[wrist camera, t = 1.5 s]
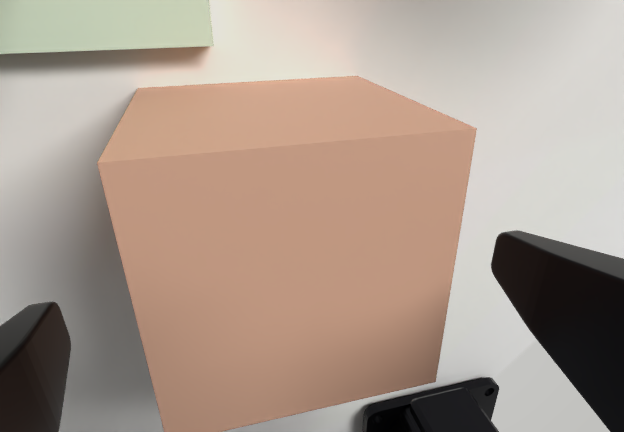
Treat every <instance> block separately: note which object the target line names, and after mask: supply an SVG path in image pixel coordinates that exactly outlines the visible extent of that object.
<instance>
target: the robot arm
mask: <svg viewBox="0 0 624 432" xmlns="http://www.w3.org/2000/svg"><path fill="white" fill-rule="evenodd" d="M491 269H492V272H493V275H494V277H495V278H496V280H497V281H498V283H499V284H500V286H501V287H502V289H503V290H504V292H505V293H506V295H507V297H508V298H509V300H510V301H511V303H512V304H513V306H514V307H515V309H516V310H517V312H518V313H519V315H520V317H521V318H522V320H523V321H524V323H525V324H526V325H527V327H528V328H529V330H530V331H531V332H532V334H533V335H534V336H535V338H536V339H537V340H538V341H539V343H540V344H541V345H542V346H543V348H544V349H545V350H546V351H547V353H548V354H549V355H550V356H551V358H552V359H553V360H554V362H555V363H556V364H557V365H558V366H559V368H560V369H561V370H562V372H563V373H564V374H565V375H566V377H567V378H568V379H569V380H570V382H571V383H572V384H573V385H574V387H575V388H576V389H577V390H578V392H579V393H580V394H581V395H582V397H583V398H584V399H585V400H586V402H587V403H588V404H589V405H590V407H591V408H592V409H593V410H594V412H595V413H596V414H597V415H598V417H599V418H600V419H601V420H602V422H603V423H604V424H605V425H606V427H607V428H608V429H609V430H610V432H624V259H622V258H619V257H615V256H611V255H608V254H604V253H600V252H596V251H593V250H589V249H585V248H581V247H578V246H574V245H570V244H567V243H563V242H559V241H555V240H552V239H548V238H544V237H541V236H537V235H533V234H529V233H526V232H522V231H509V232H503V233H501V234H499V235H498V237H497V239H496V243H495V248H494V253H493V258H492V263H491ZM70 351H71V341H70V336H69V333H68V330H67V327H66V324H65V321H64V319H63V316H62V313H61V310H60V307H59V306H58V304H57V303H55V302H45V303H38V304H32V305H29V306H27V307H26V308H24V309H23V310H22V311H20V312H19V313H18V314H16V315H15V316H13V317H12V318H11V319H9V320H8V321H7V322H5V323H4V324H2V325H1V326H0V432H58V431H59V426H60V420H61V414H62V407H63V400H64V393H65V386H66V379H67V372H68V365H69V358H70ZM498 391H499V386H498V385H497V384H496V382H495V381H494V380H493V379H492V378H490V377H487V378H482V379H478V380H474V381H470V382H465V383H461V384H457V385H453V386H448V387H444V388H440V389H436V390H432V391H427V392H423V393H419V394H415V395H410V396H406V397H402V398H398V399H394V400H389V401H385V402H381V403H377V404H373V405H371V406H369V407H368V408H367V409H366V410H365V412H364V418H363V432H499V431H498V430H497V428H496V427H495V426H494V424H493V423H492V422H491V418H492V414H493V410H494V407H495V403H496V399H497V395H498Z"/></svg>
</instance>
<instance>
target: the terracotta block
mask: <svg viewBox="0 0 624 432" xmlns="http://www.w3.org/2000/svg"><path fill="white" fill-rule="evenodd" d="M476 130H477V128H474V127H472V126H470V125H468V124H465V123H463V122H461V121H458V120H456V119H454V118H452V117H449V116H447V115H445V114H443V113H440V112H438V111H436V110H433V109H431V108H429V107H427V106H424V105H422V104H420V103H418V102H415V101H413V100H411V99H408V98H406V97H404V96H402V95H399V94H397V93H395V92H393V91H390V90H388V89H386V88H384V87H381V86H379V85H377V84H374V83H372V82H370V81H368V80H365V79H363V78H361V77H359V76H346V77H328V78H310V79H292V80H274V81H257V82H239V83H221V84H203V85H185V86H167V87H149V88H138V89H137V91H136V93H135V94H134V96H133V98H132V100H131V102H130V104H129V105H128V107H127V109H126V111H125V113H124V115H123V116H122V118H121V120H120V122H119V124H118V126H117V127H116V129H115V131H114V133H113V135H112V137H111V138H110V140H109V142H108V144H107V146H106V147H105V149H104V151H103V153H102V155H101V157H100V158H99V160H98V162H97V165H98V169H99V173H100V177H101V181H102V184H103V188H104V192H105V196H106V200H107V204H108V208H109V212H110V216H111V220H112V224H113V228H114V232H115V236H116V240H117V244H118V248H119V252H120V256H121V260H122V264H123V268H124V272H125V276H126V280H127V284H128V288H129V292H130V296H131V300H132V304H133V308H134V312H135V316H136V320H137V324H138V328H139V332H140V336H141V340H142V344H143V348H144V352H145V356H146V360H147V364H148V368H149V372H150V376H151V380H152V384H153V388H154V392H155V396H156V400H157V404H158V408H159V412H160V416H161V420H162V424H163V428H164V432H222V431H226V430H230V429H235V428H239V427H243V426H247V425H252V424H256V423H260V422H265V421H269V420H273V419H278V418H282V417H286V416H290V415H295V414H299V413H303V412H308V411H312V410H316V409H321V408H325V407H329V406H334V405H338V404H342V403H346V402H351V401H355V400H359V399H364V398H368V397H372V396H377V395H381V394H385V393H390V392H394V391H398V390H402V389H407V388H411V387H415V386H420V385H424V384H428V383H433V382H436V375H437V369H438V363H439V357H440V351H441V345H442V339H443V333H444V326H445V320H446V314H447V308H448V302H449V296H450V290H451V283H452V277H453V271H454V265H455V259H456V253H457V247H458V240H459V234H460V228H461V222H462V216H463V210H464V204H465V197H466V191H467V185H468V179H469V173H470V167H471V161H472V155H473V148H474V142H475V136H476Z"/></svg>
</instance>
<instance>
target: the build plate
mask: <svg viewBox="0 0 624 432" xmlns="http://www.w3.org/2000/svg"><path fill="white" fill-rule="evenodd" d="M203 46H214V44H213V35H212V26H211V16H210V7H209V0H0V54H13V53H40V52H67V51H94V50H122V49H149V48H176V47H203Z"/></svg>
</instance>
